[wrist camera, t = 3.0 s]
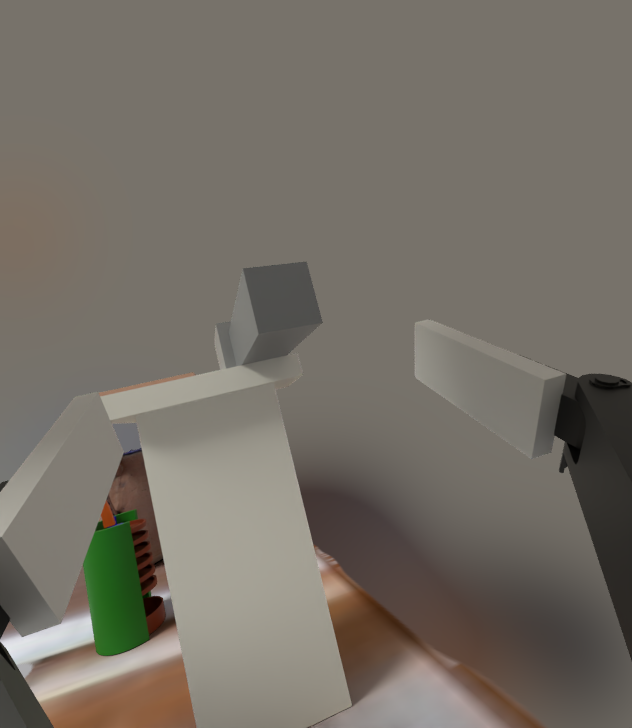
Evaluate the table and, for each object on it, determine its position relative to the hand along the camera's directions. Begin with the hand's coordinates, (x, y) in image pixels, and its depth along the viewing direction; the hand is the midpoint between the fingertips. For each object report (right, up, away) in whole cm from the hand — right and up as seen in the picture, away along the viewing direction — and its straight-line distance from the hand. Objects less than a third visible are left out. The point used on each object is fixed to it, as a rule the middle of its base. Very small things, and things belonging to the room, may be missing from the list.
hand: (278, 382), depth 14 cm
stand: (-2, -30, +17) cm, 34 cm away
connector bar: (-3, +1, +16) cm, 17 cm away
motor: (-25, -38, +35) cm, 57 cm away
